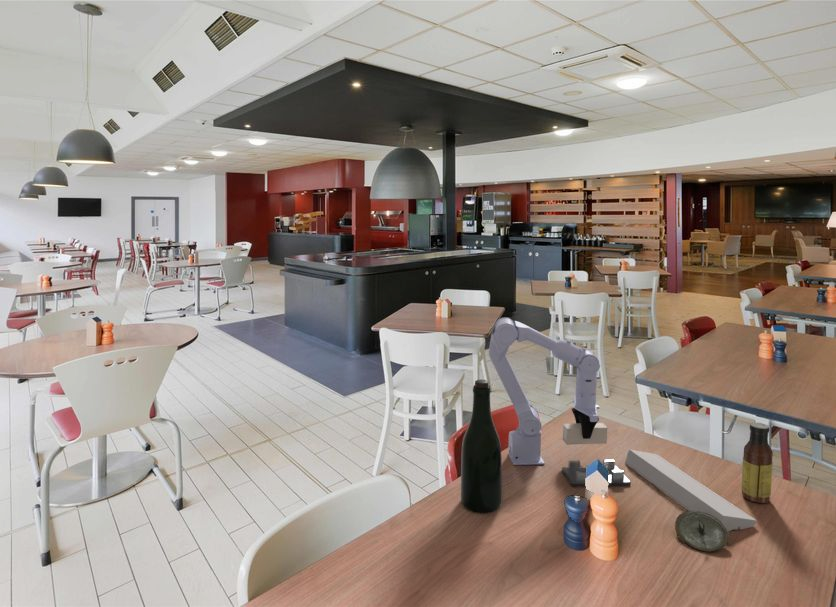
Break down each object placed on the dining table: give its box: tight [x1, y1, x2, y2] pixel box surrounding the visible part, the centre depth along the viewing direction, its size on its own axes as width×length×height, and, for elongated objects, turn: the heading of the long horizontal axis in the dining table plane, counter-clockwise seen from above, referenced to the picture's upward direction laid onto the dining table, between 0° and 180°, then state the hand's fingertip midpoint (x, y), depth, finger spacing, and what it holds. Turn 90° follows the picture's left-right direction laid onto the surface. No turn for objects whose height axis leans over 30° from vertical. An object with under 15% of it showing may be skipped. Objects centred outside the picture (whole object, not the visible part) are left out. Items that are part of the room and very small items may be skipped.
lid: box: [674, 510, 730, 553], centre depth 109 cm, size 11×10×5 cm
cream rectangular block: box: [562, 422, 608, 446], centre depth 144 cm, size 12×4×5 cm, turn 91°
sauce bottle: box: [741, 421, 774, 504], centre depth 124 cm, size 6×6×20 cm
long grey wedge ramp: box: [624, 449, 757, 532], centre depth 129 cm, size 34×5×10 cm
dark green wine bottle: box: [460, 379, 503, 514], centre depth 122 cm, size 10×10×33 cm
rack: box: [561, 459, 632, 488], centre depth 136 cm, size 16×9×4 cm, turn 91°
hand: (584, 435), depth 144 cm, fingers closed on cream rectangular block, 3 cm apart
